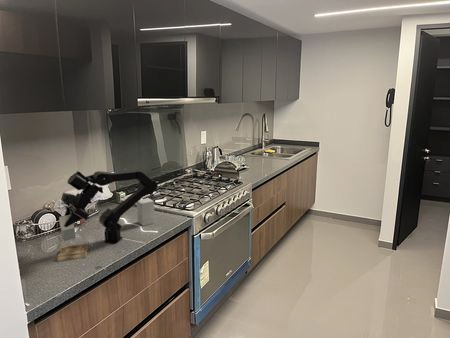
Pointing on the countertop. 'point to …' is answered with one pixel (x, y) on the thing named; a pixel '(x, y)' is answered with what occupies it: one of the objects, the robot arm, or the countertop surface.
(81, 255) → the wooden tray
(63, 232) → the plain gray box
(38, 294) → the countertop surface
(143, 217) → the supplement box
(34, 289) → the countertop surface
